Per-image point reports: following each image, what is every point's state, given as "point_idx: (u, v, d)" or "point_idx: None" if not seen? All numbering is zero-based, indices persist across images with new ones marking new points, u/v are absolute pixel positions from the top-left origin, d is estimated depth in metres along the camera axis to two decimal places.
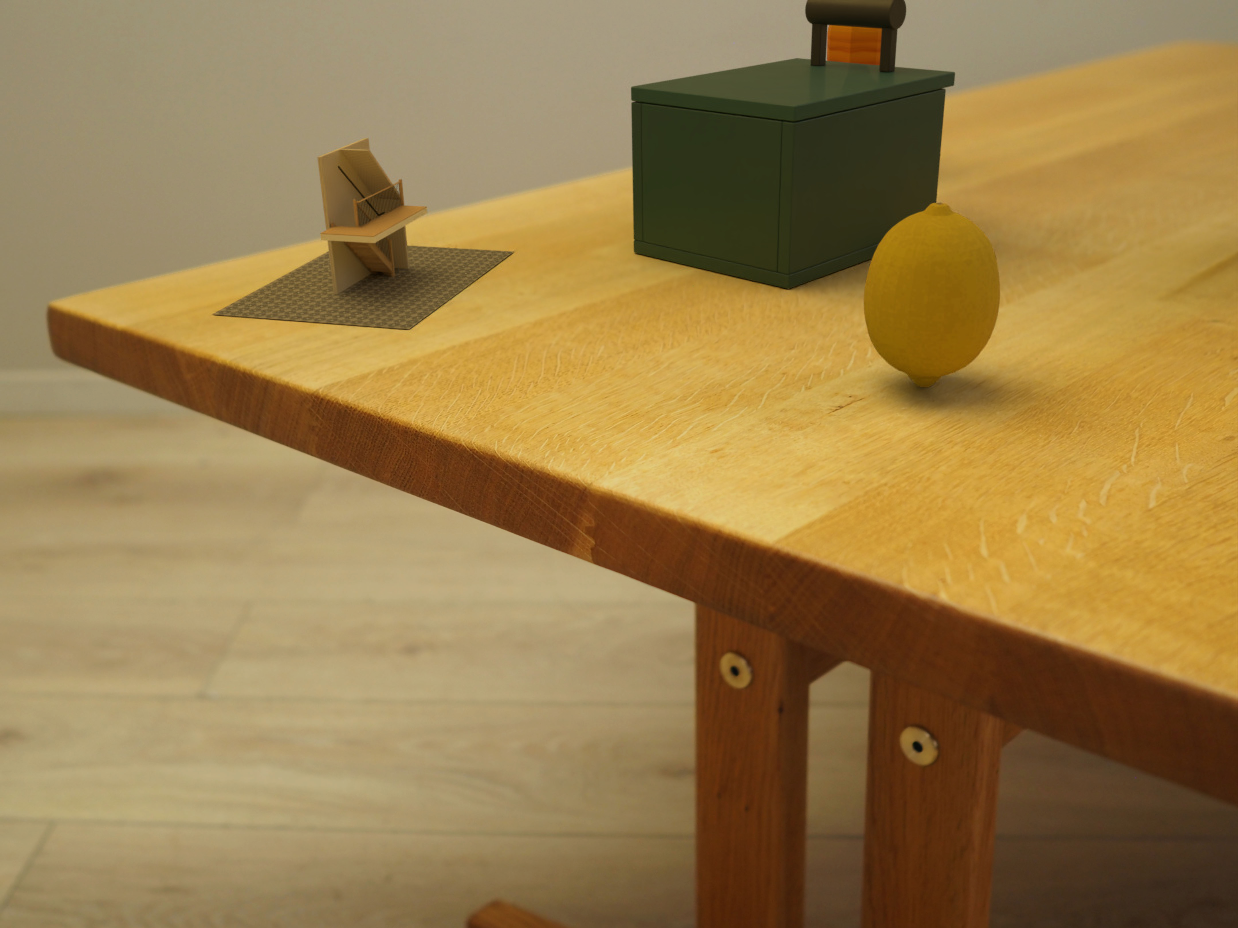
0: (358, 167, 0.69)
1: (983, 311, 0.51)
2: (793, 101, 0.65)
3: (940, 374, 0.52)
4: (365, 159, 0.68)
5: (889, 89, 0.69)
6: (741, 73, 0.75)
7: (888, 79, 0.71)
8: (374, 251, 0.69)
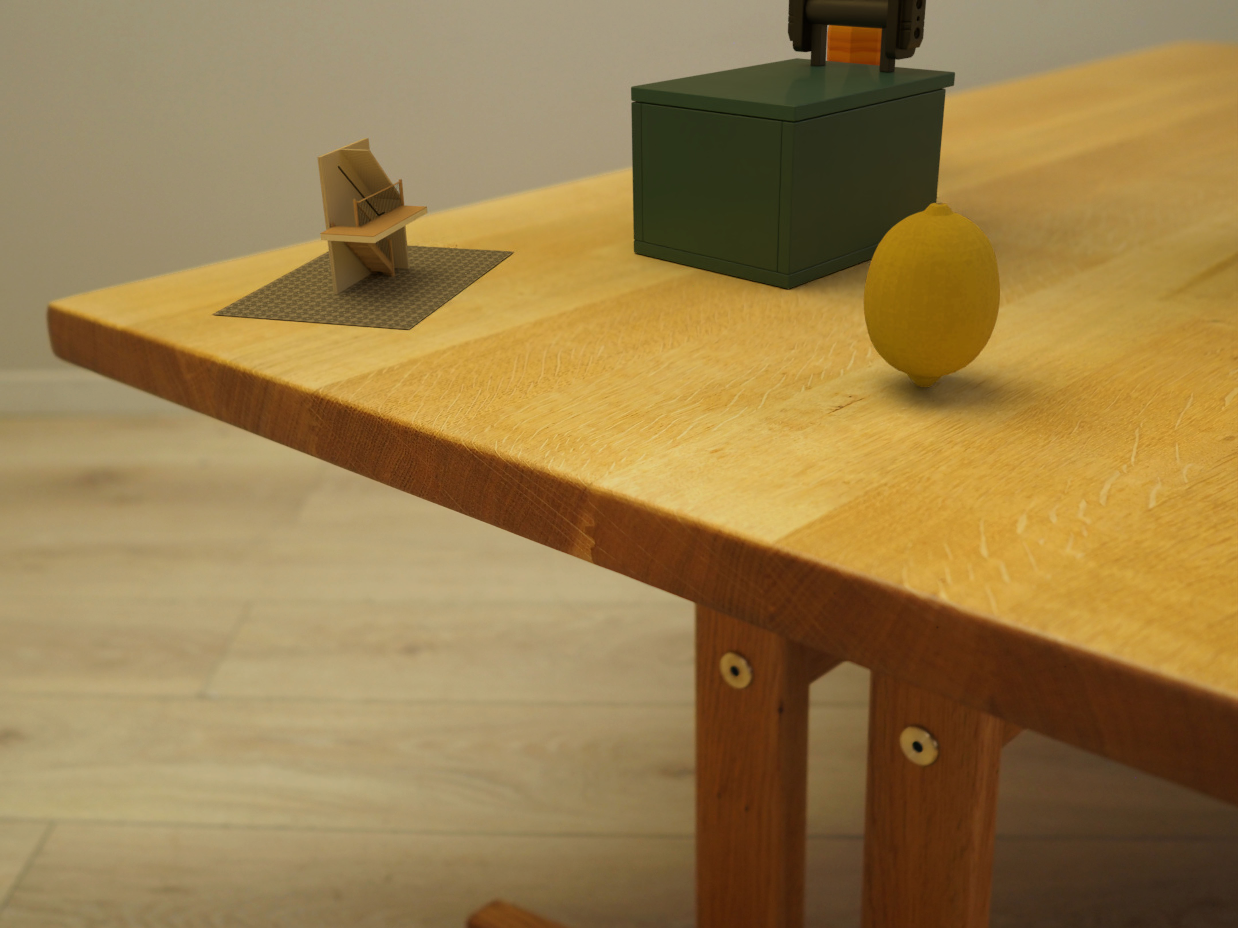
0: (358, 167, 0.69)
1: (983, 311, 0.51)
2: (793, 101, 0.65)
3: (940, 374, 0.52)
4: (365, 159, 0.68)
5: (889, 89, 0.69)
6: (741, 73, 0.75)
7: (888, 79, 0.71)
8: (374, 251, 0.69)
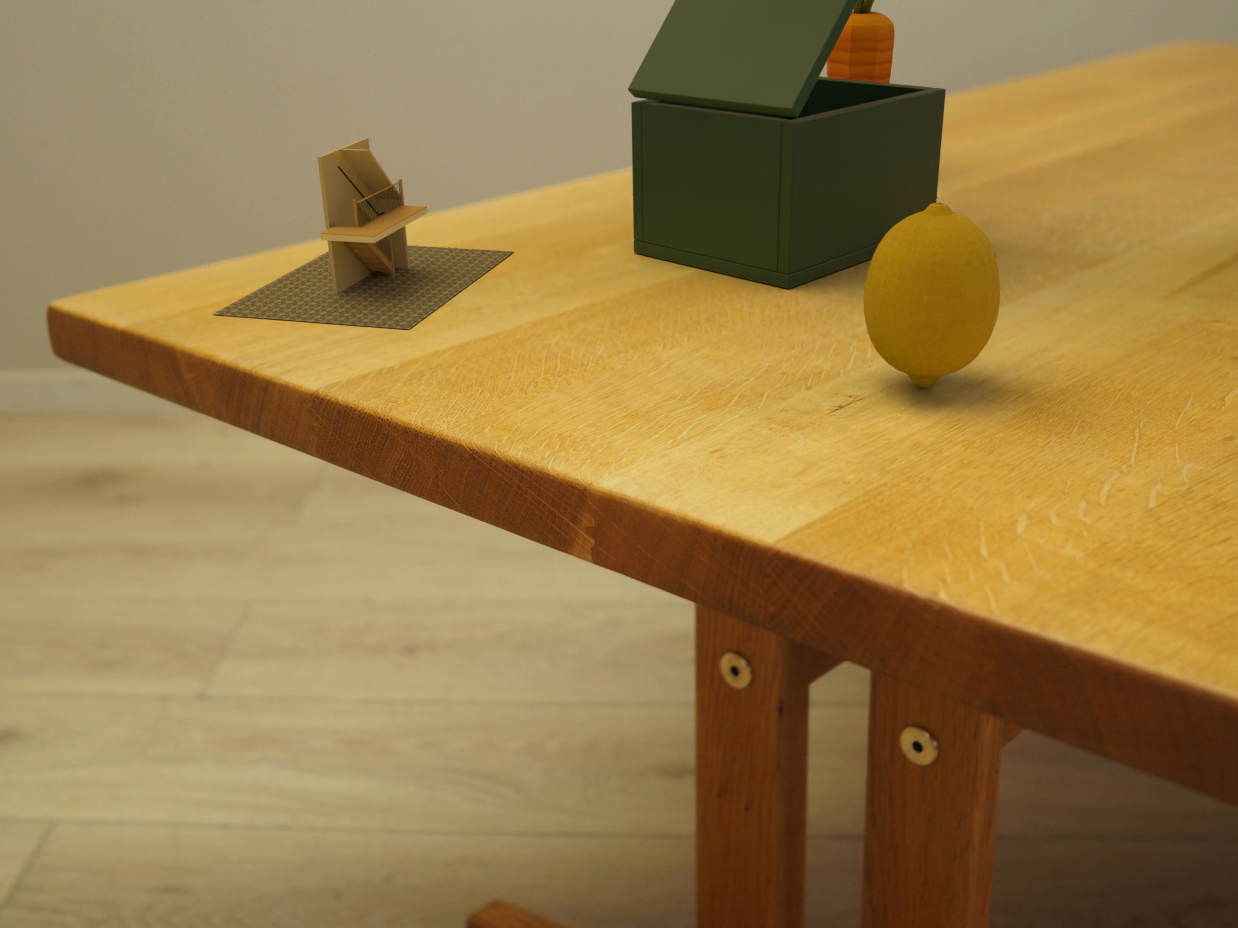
0: (358, 167, 0.69)
1: (983, 311, 0.51)
2: (786, 89, 0.64)
3: (940, 374, 0.52)
4: (365, 159, 0.68)
5: None
6: None
7: None
8: (374, 251, 0.69)
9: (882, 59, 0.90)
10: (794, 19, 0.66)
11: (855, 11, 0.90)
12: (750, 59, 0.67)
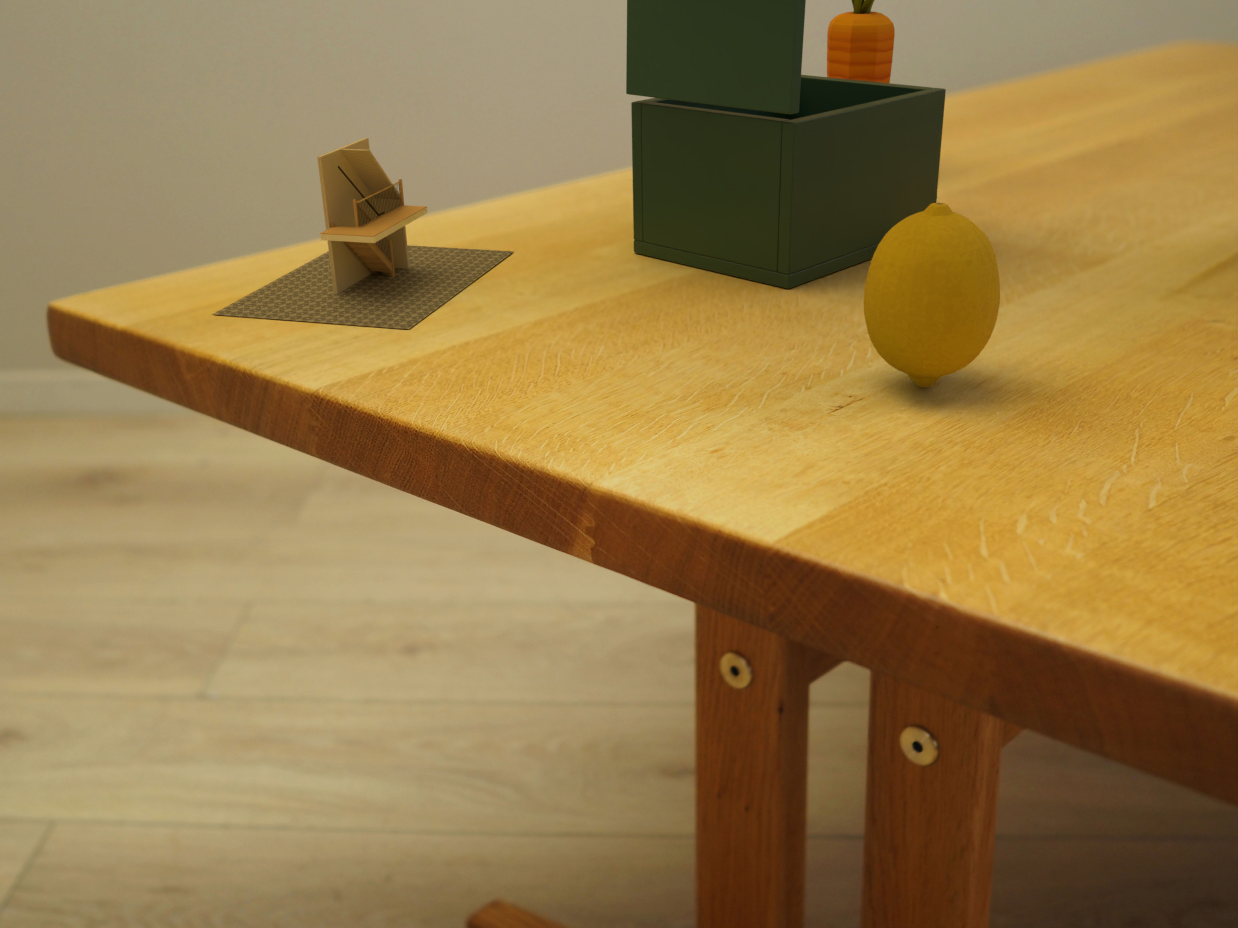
0: (358, 167, 0.69)
1: (983, 311, 0.51)
2: (776, 90, 0.64)
3: (940, 374, 0.52)
4: (365, 159, 0.68)
5: None
6: None
7: None
8: (374, 251, 0.69)
9: (882, 59, 0.90)
10: (753, 1, 0.63)
11: (855, 11, 0.90)
12: (728, 54, 0.65)
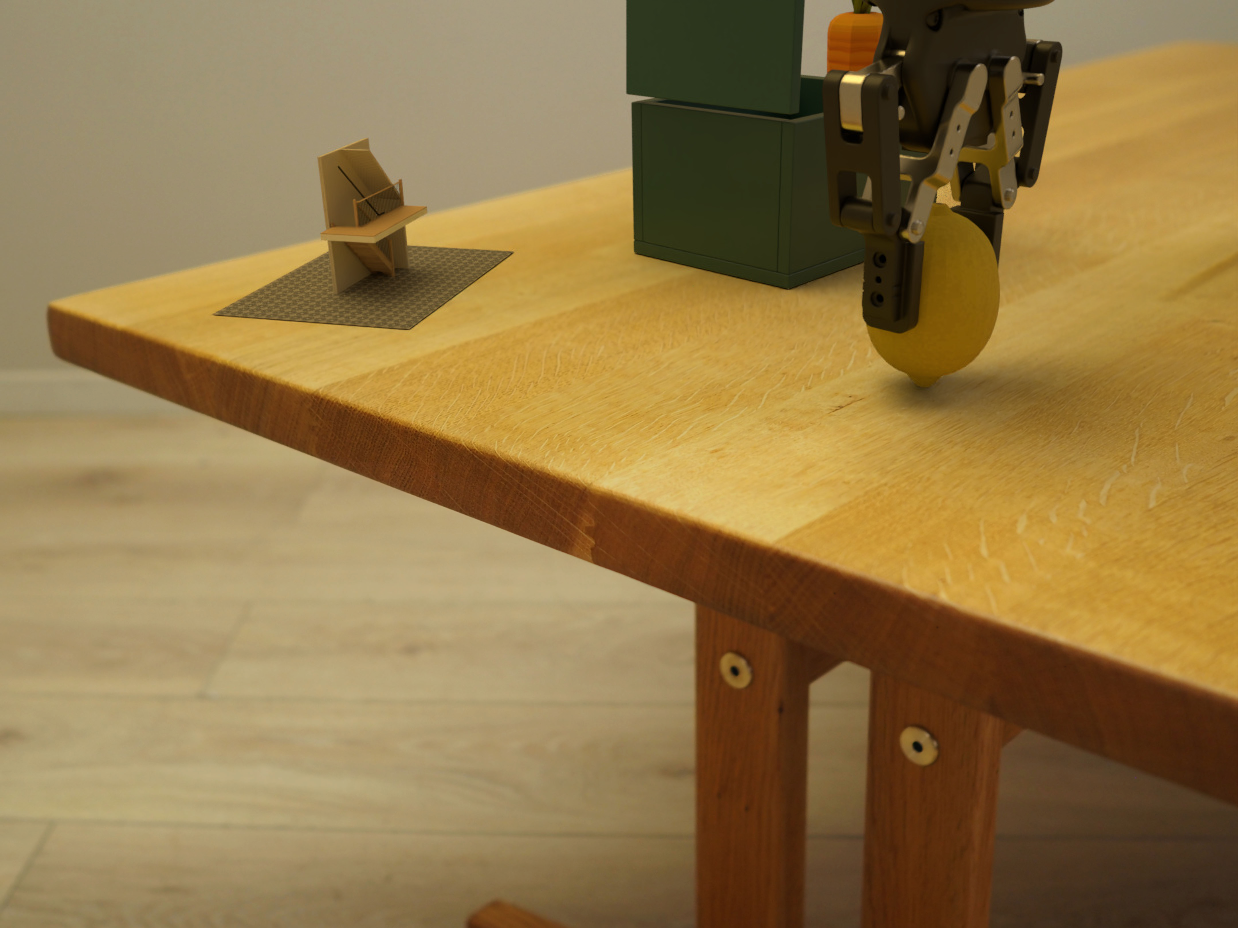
0: (358, 167, 0.69)
1: (983, 311, 0.51)
2: (775, 90, 0.64)
3: (940, 374, 0.52)
4: (365, 159, 0.68)
5: None
6: None
7: None
8: (374, 251, 0.69)
9: None
10: (752, 2, 0.63)
11: (855, 11, 0.90)
12: (728, 54, 0.65)
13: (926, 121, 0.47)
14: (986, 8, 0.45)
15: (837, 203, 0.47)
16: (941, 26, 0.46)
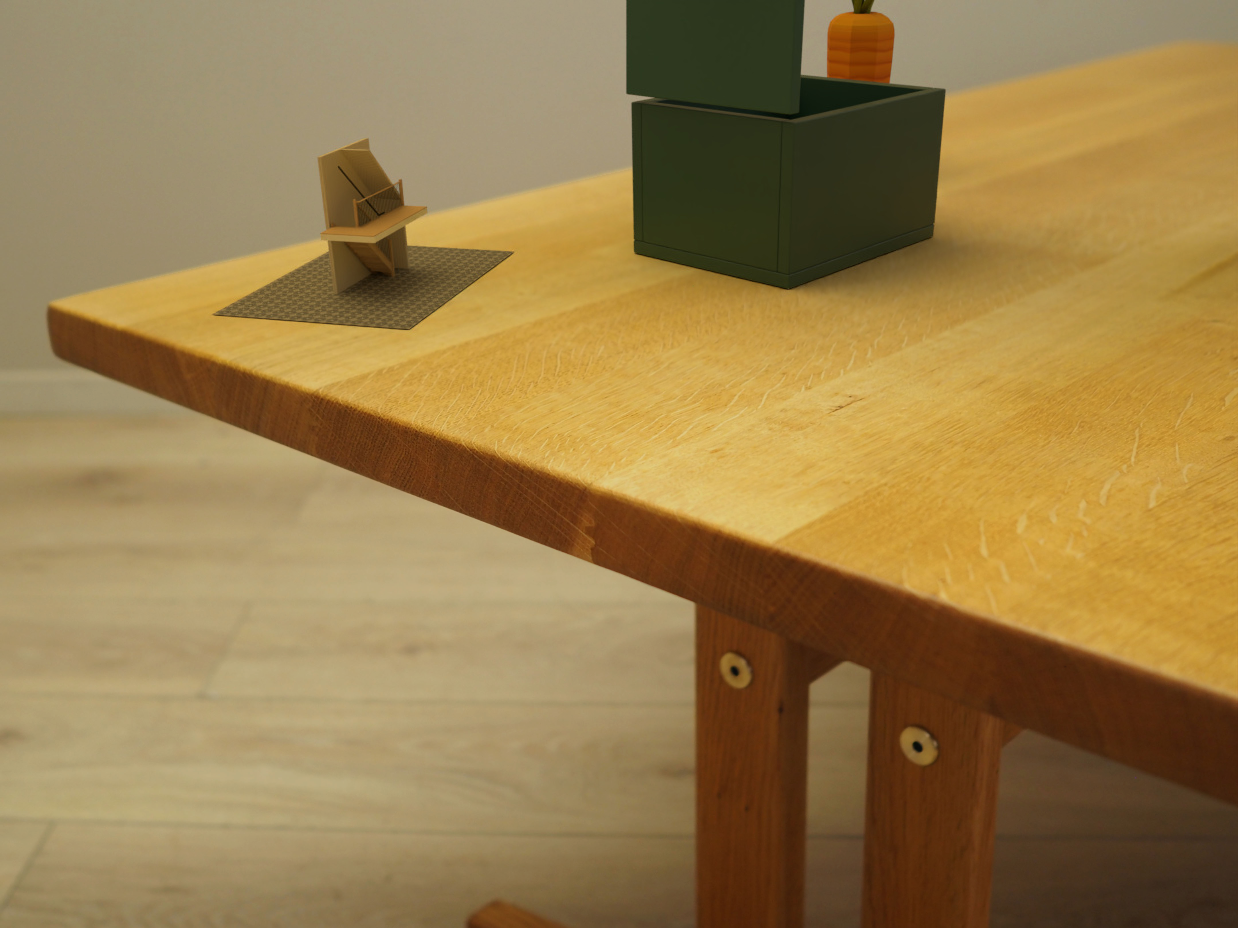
0: (358, 167, 0.69)
1: None
2: (775, 90, 0.64)
3: None
4: (365, 159, 0.68)
5: None
6: None
7: None
8: (374, 251, 0.69)
9: (882, 59, 0.90)
10: (752, 2, 0.63)
11: (855, 11, 0.90)
12: (728, 54, 0.65)
13: None
14: None
15: None
16: None
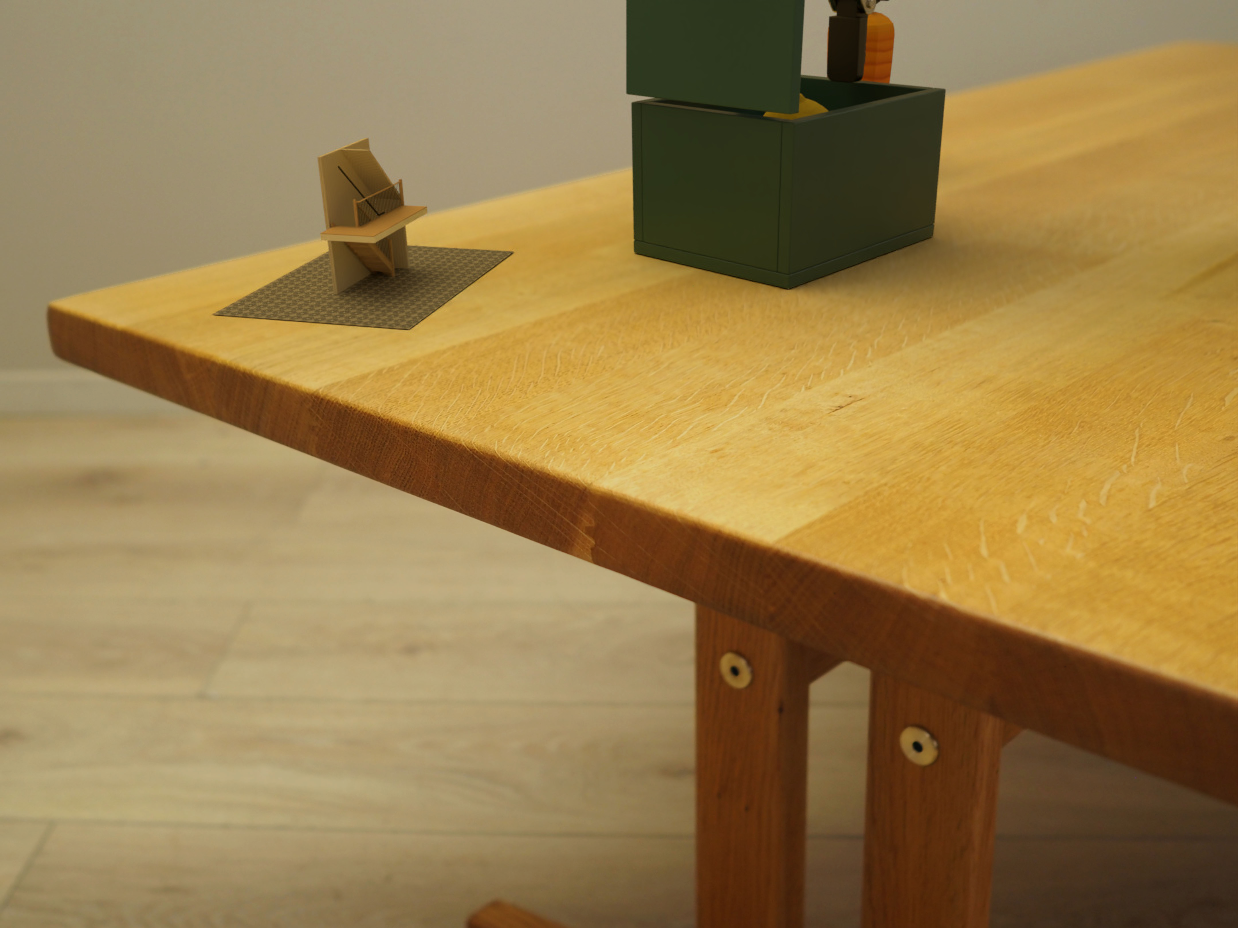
0: (358, 167, 0.69)
1: None
2: (775, 90, 0.64)
3: None
4: (365, 159, 0.68)
5: None
6: None
7: None
8: (374, 251, 0.69)
9: (882, 59, 0.90)
10: (752, 2, 0.63)
11: None
12: (728, 54, 0.65)
13: None
14: None
15: None
16: None
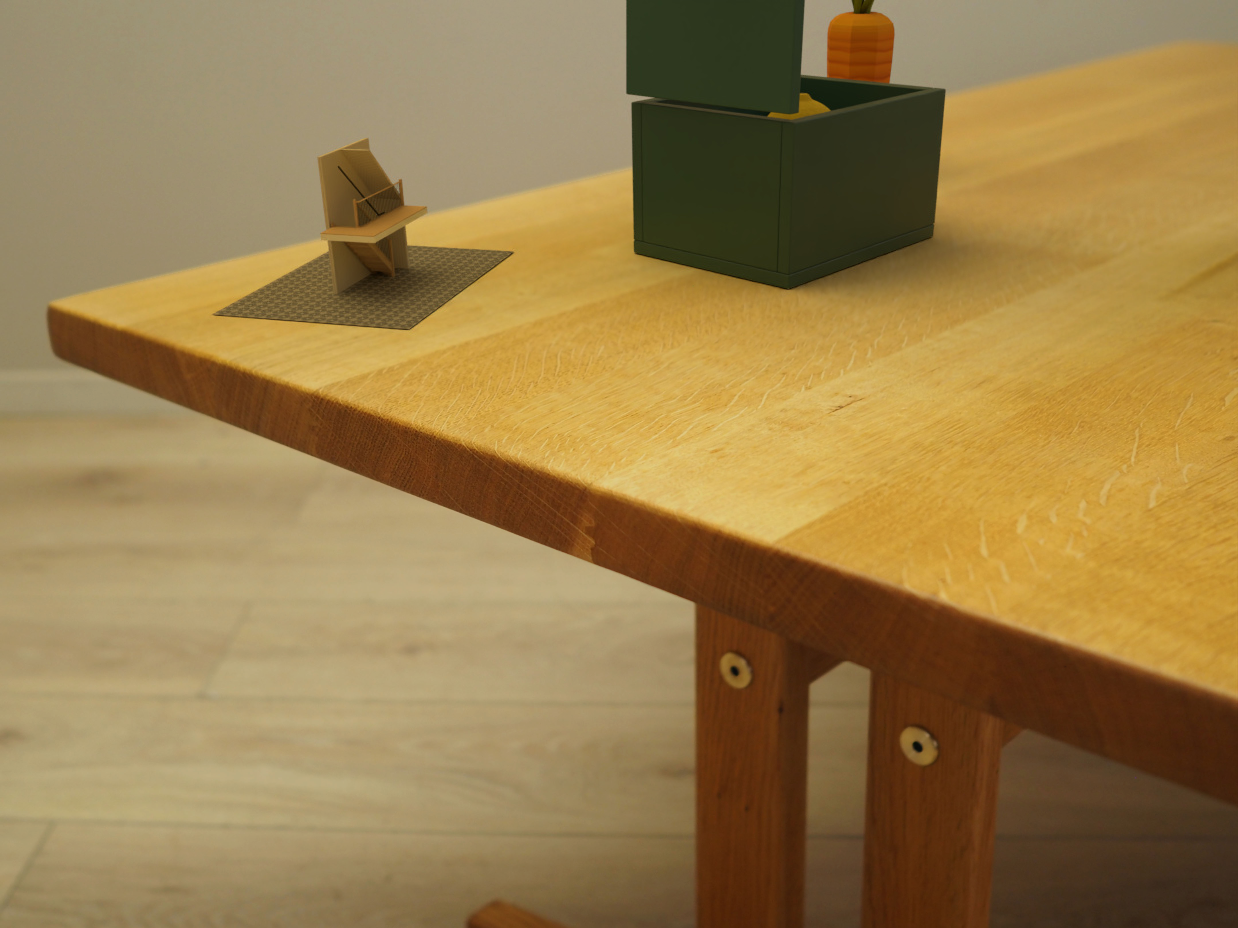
0: (358, 167, 0.69)
1: None
2: (775, 90, 0.64)
3: None
4: (365, 159, 0.68)
5: None
6: None
7: None
8: (374, 251, 0.69)
9: (882, 59, 0.90)
10: (752, 2, 0.63)
11: (855, 11, 0.90)
12: (728, 54, 0.65)
13: None
14: None
15: None
16: None
